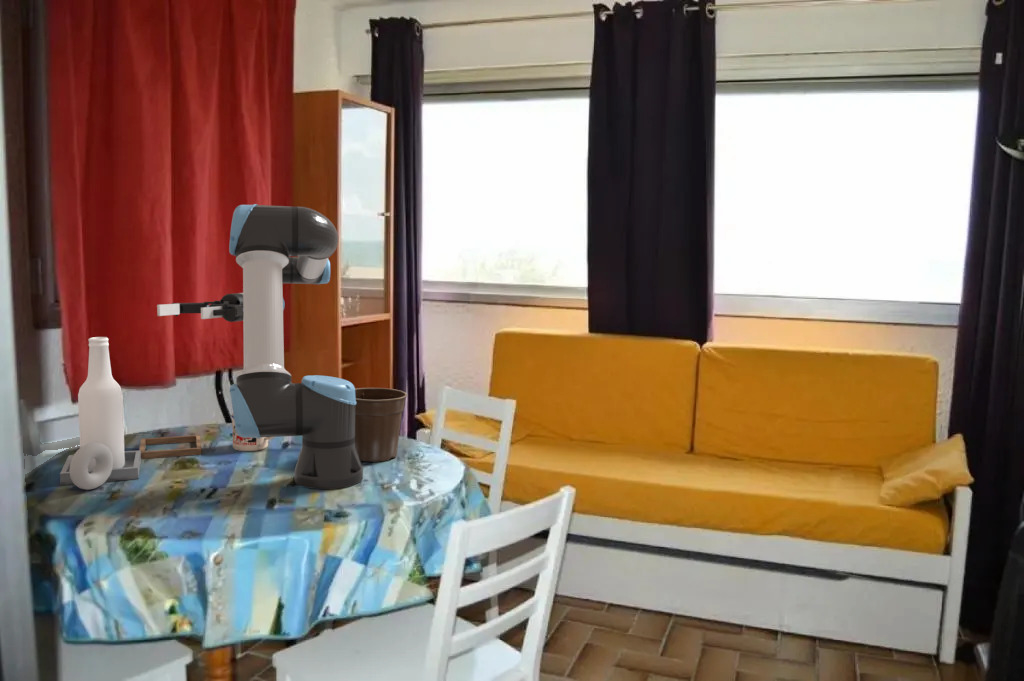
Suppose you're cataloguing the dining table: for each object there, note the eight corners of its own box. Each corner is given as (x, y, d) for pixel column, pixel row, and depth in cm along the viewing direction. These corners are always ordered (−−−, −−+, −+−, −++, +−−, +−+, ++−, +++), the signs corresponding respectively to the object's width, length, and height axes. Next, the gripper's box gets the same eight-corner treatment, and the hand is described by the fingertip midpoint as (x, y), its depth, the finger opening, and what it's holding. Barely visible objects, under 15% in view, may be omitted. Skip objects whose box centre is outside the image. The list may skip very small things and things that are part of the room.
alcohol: (71, 473, 172) (66, 339, 168) (98, 462, 180) (93, 334, 177) (108, 476, 171) (103, 341, 167) (133, 465, 179) (129, 336, 175)
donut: (79, 497, 159) (77, 449, 158) (66, 494, 160) (64, 447, 159) (118, 483, 168) (116, 438, 167) (105, 481, 169) (104, 436, 168)
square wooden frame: (201, 454, 192) (201, 448, 192) (139, 458, 186) (138, 452, 186) (200, 440, 205) (200, 434, 205) (141, 444, 199) (141, 438, 199)
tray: (138, 478, 172) (137, 467, 171) (60, 485, 166) (59, 473, 165) (141, 460, 185) (140, 450, 185) (69, 465, 179) (68, 455, 179)
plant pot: (393, 445, 207) (394, 385, 205) (415, 461, 193) (416, 397, 191) (333, 450, 199) (333, 389, 197) (351, 467, 185) (351, 401, 183)
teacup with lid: (224, 450, 196) (224, 405, 195) (243, 441, 205) (243, 398, 204) (268, 454, 194) (268, 408, 193) (285, 445, 203) (285, 401, 202)
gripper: (277, 323, 205) (221, 330, 186) (202, 318, 214) (141, 324, 194) (277, 295, 205) (220, 298, 185) (202, 291, 213) (140, 294, 194)
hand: (179, 311), depth 190 cm, fingers open, 13 cm apart
